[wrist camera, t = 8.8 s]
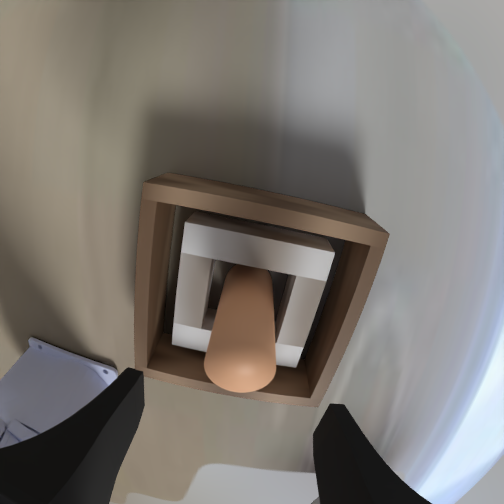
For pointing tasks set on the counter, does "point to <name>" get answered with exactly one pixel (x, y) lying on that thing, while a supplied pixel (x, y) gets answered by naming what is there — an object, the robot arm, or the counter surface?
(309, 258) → the peg box
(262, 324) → the peg
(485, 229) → the counter surface
